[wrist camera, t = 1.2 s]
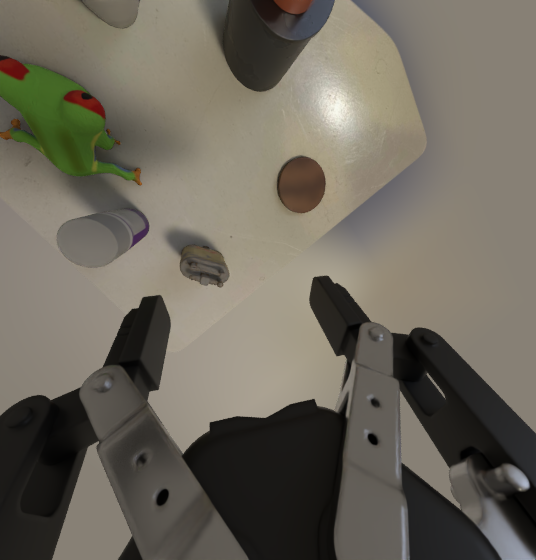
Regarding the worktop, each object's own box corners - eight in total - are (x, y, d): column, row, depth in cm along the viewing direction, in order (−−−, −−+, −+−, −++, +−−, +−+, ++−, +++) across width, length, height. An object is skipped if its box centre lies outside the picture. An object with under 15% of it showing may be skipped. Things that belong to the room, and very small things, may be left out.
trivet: (270, 169, 36) (271, 168, 35) (316, 149, 37) (318, 148, 36) (287, 220, 40) (288, 220, 39) (328, 201, 41) (330, 201, 40)
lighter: (179, 261, 36) (174, 281, 27) (185, 239, 35) (182, 254, 26) (220, 271, 39) (228, 293, 30) (226, 252, 38) (236, 268, 29)
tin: (208, 11, 27) (217, -110, 16) (275, -9, 28) (324, -134, 18) (239, 102, 31) (263, 53, 20) (296, 81, 32) (346, 25, 22)
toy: (154, 131, 29) (137, 102, 20) (141, 196, 31) (121, 196, 23) (10, 66, 24) (-101, -13, 15) (7, 152, 26) (-92, 128, 17)
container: (130, 245, 33) (87, 278, 20) (105, 219, 31) (39, 236, 18) (156, 229, 33) (131, 251, 20) (133, 201, 31) (89, 205, 18)
